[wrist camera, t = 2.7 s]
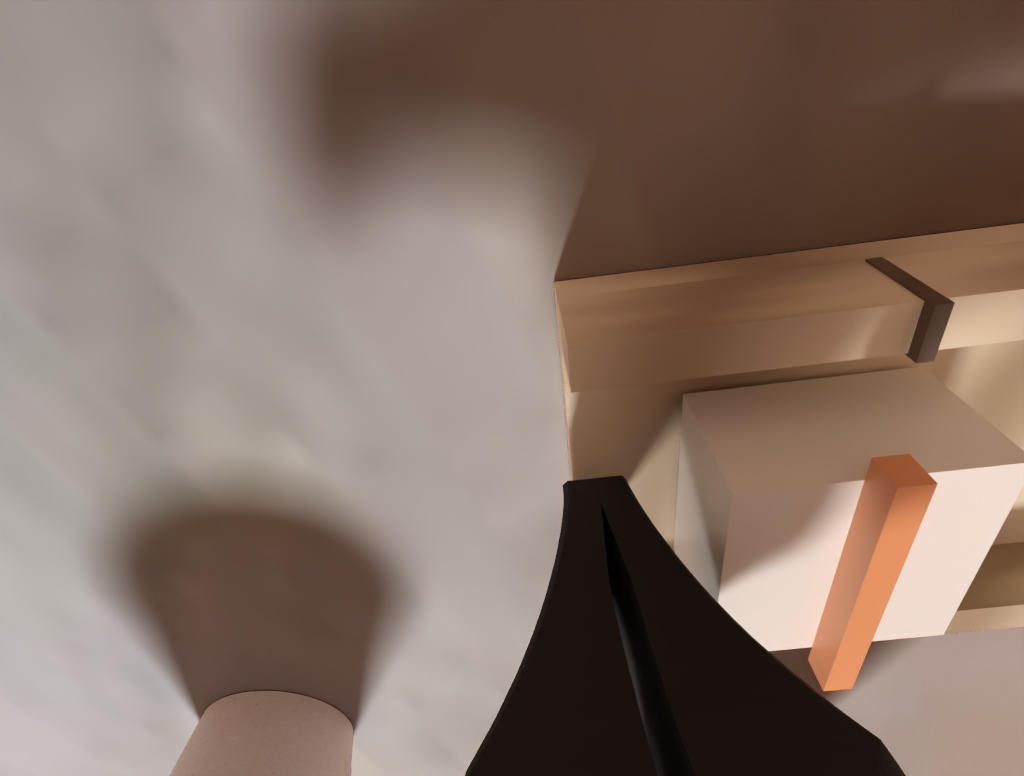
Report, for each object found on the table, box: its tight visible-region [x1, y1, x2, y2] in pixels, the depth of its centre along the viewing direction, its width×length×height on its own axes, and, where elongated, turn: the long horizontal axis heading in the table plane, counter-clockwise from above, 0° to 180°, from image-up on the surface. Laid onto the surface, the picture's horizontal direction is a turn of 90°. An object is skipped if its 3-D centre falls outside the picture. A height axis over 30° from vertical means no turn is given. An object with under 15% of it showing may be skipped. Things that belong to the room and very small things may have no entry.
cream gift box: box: [674, 367, 1024, 691], centre depth 12 cm, size 5×6×4 cm
